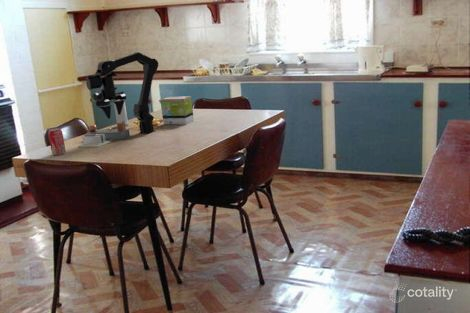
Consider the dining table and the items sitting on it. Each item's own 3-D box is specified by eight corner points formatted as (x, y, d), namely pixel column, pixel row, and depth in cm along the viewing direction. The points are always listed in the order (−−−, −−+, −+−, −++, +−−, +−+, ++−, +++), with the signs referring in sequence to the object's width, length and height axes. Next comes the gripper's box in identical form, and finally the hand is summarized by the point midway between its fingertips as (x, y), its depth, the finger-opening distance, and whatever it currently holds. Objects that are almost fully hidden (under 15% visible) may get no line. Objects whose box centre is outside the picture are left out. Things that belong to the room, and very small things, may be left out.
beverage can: (54, 153, 248) (49, 128, 245) (67, 152, 249) (62, 127, 246) (50, 156, 242) (46, 131, 239) (64, 155, 243) (59, 129, 240)
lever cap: (105, 142, 260) (104, 133, 259) (99, 144, 256) (98, 135, 255) (89, 142, 264) (88, 133, 263) (83, 144, 260) (81, 135, 259)
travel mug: (126, 126, 302) (121, 92, 297) (115, 127, 303) (110, 93, 298) (130, 124, 308) (125, 90, 303) (120, 125, 309) (115, 91, 304)
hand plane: (130, 136, 271) (127, 121, 269) (122, 139, 264) (119, 124, 262) (95, 137, 279) (93, 122, 277) (87, 140, 273) (84, 125, 271)
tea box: (163, 125, 296) (159, 99, 292) (171, 121, 305) (168, 96, 301) (186, 124, 290) (183, 98, 286) (194, 120, 299) (191, 95, 295)
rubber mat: (110, 142, 262) (110, 140, 262) (98, 146, 253) (98, 145, 253) (91, 142, 267) (91, 141, 267) (78, 146, 258) (78, 145, 258)
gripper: (106, 84, 274) (112, 113, 278) (84, 90, 257) (90, 121, 261) (124, 82, 269) (129, 112, 273) (102, 89, 253) (108, 120, 257)
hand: (114, 116), depth 266 cm, fingers open, 9 cm apart
